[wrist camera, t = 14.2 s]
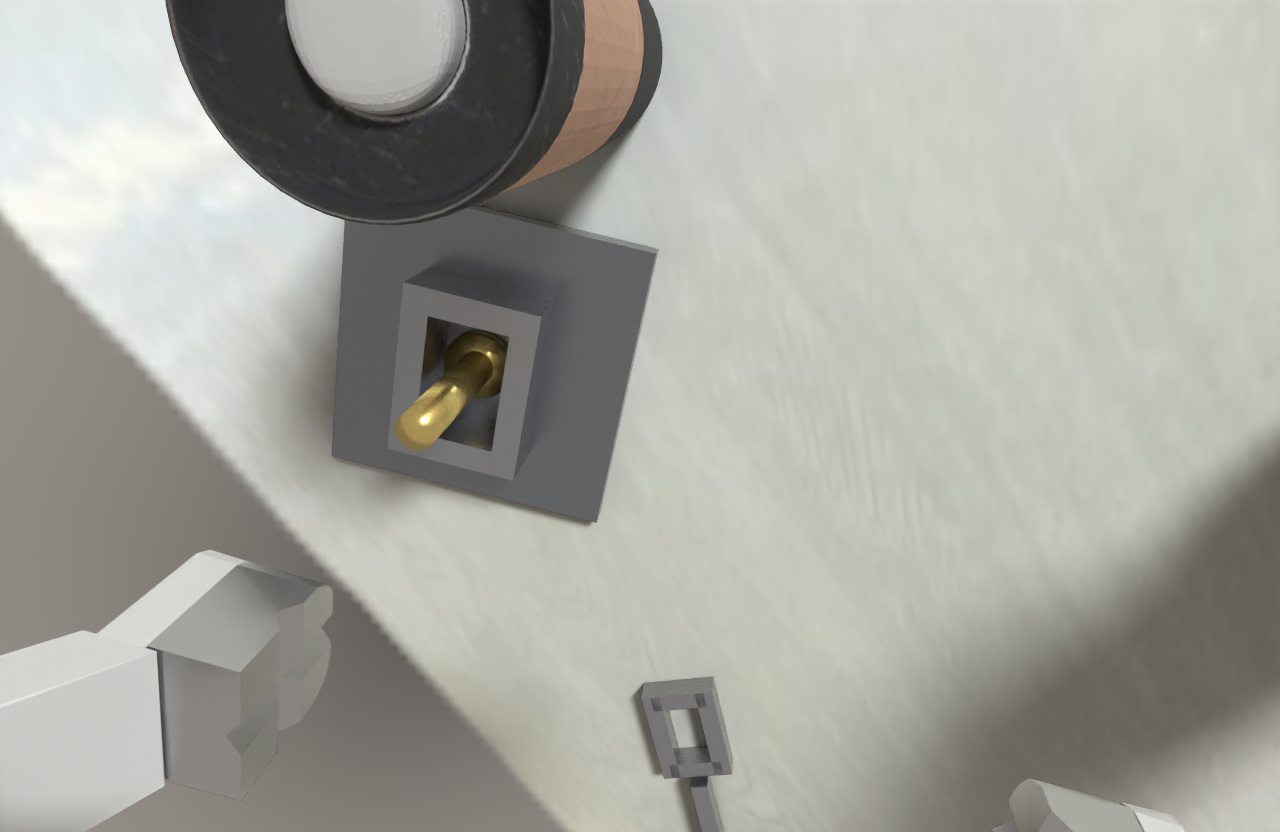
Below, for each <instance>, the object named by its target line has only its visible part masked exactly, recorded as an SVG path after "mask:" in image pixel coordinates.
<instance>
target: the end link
mask: <svg viewBox="0 0 1280 832" xmlns="http://www.w3.org/2000/svg"><path fill="white" fill-rule="evenodd" d="M556 304H557V299H556V298H552V297H548V296H544V295H540V294H536V293H532V292H528V291H524V290H520V289H516V288H512V287H508V286H504V285H500V284H496V283H492V282H488V281H484V280H480V279H476V278H472V277H468V276H464V275H460V274H456V273H452V272H448V271H444V270H440V269H436V268H432V267H429V268H427V269H425V270H424V271H422V272H420V273H418V274H417V275H415V276H413V277H411V278H410V279H408V280H406V281H404V282H403V290H402V301H401V311H400V322H399V332H398V343H397V354H396V364H395V375H394V385H393V396H392V407H391V417H390V428H389V438H388V449H391V450H395V451H399V452H403V453H406V454H410V455H414V456H418V457H422V458H426V459H430V460H434V461H437V462H441V463H445V464H449V465H453V466H457V467H461V468H465V469H469V470H472V471H476V472H480V473H484V474H488V475H492V476H496V477H500V478H503V479H507V480H511V481H513V480H514V479H515V477H516V475H517V474H518V472H519V470H520V469H521V467H522V465H523V464H524V462H525V460H526V458H527V457H528V455H529V453H530V449H531V444H532V438H533V432H534V427H535V421H536V416H537V410H538V405H539V399H540V393H541V388H542V382H543V377H544V371H545V366H546V360H547V354H548V349H549V343H550V338H551V332H552V327H553V321H554V315H555V310H556ZM449 322H453V323H457V324H461V325H465V326H469V327H473V328H477V329H481V330H485V331H489V332H493V333H497V334H501V335H505V336H509V343H508V350H507V356H506V362H505V369H504V375H503V381H502V388H501V394H500V401H499V407H498V413H497V420H496V422H495V421H491V420H487V419H483V418H479V417H475V416H471V415H468V414H464V413H459V414H458V415H457V417H456V418H455V419H454V420H453V421H452V422H451V423H450V425H449V426H448V427H447V428H446V429H445V430H444V431H443V433H442V434H441V435H440V436H439V437H438V438H437V439H436V441H435V442H434V443H433V444H432V445H431V446H430V447H429V448H427V449H425V450H420V451H417V450H412V449H409V448H407V447H405V446H404V445H403V444H402V443H401V442H400V441H399V440H398V438H397V436H396V433H395V423H396V421H397V419H398V418H399V417H400V416H401V415H402V414H403V413H404V412H405V411H406V410H407V409H408V408H409V407H410V406H411V405H412V404H413V403H414V402H415V401H416V400H417V399H419V398H420V397H421V396H422V395H423V394H424V393H425V392H426V391H427V390H428V389H429V388H430V387H431V386H432V385H433V384H434V383H435V382H436V381H437V380H438V379H439V378H441V377H442V376H443V370H444V364H443V361H444V355H445V352H446V345H447V337H448V328H449Z"/></svg>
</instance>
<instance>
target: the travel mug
mask: <svg viewBox="0 0 1280 832" xmlns="http://www.w3.org/2000/svg"><path fill="white" fill-rule="evenodd" d="M166 8H167V13H168V17H169V22H170V27H171V31H172V36H173V39H174V42H175V45H176V48H177V51H178V54H179V57H180V60H181V63H182V66H183V68H184V70H185V73H186V75H187V77H188V79H189V82H190V84H191V86H192V89H193V90H194V92H195V94H196V96H197V98H198V99H199V101H200V103H201V105H202V106H203V108H204V110H205V112H206V114H207V115H208V116H209V118H210V119H211V121H212V122H213V124H214V125H215V126H216V128H217V129H218V131H219V132H220V133H221V135H222V136H223V138H224V139H225V140H226V141H227V142H228V143H229V144H230V146H231V147H232V148H233V149H234V150H235V151H236V153H237V154H238V155H239V156H240V157H241V158H242V159H243V160H244V161H245V162H246V163H247V164H248V165H249V166H250V167H252V168H253V169H254V170H255V171H256V172H257V173H258V174H259V175H260V176H261V177H263V178H264V179H265V180H267V181H268V182H270V183H271V184H272V185H274V186H275V187H276V188H278V189H279V190H280V191H282V192H283V193H285V194H287V195H289V196H290V197H292V198H294V199H295V200H297V201H299V202H301V203H302V204H304V205H306V206H308V207H311V208H313V209H315V210H318V211H320V212H322V213H325V214H327V215H330V216H334V217H337V218H340V219H344V220H347V221H351V222H358V223H364V224H371V225H406V224H414V223H422V222H427V221H430V220H434V219H438V218H441V217H445V216H449V215H451V214H453V213H456V212H458V211H461V210H463V209H466V208H468V207H470V206H473V205H475V204H478V203H480V202H483V201H485V200H488V199H490V198H492V197H495V196H497V195H500V194H502V193H505V192H507V191H510V190H512V189H514V188H517V187H519V186H522V185H524V184H527V183H529V182H532V181H534V180H536V179H539V178H541V177H544V176H546V175H549V174H551V173H554V172H556V171H558V170H561V169H563V168H566V167H568V166H570V165H573V164H575V163H577V162H579V161H581V160H583V159H584V158H586V157H587V156H589V155H591V154H592V153H594V152H595V151H597V150H598V149H600V148H601V147H603V146H604V145H606V144H607V143H609V142H610V141H612V140H613V139H615V138H617V137H618V136H620V135H621V134H622V133H623V132H625V131H626V130H627V129H628V128H630V127H631V126H632V125H633V124H634V123H635V122H636V121H637V120H638V119H639V118H640V116H641V115H642V114H643V112H644V111H645V109H646V108H647V107H648V105H649V103H650V101H651V99H652V97H653V95H654V93H655V90H656V87H657V85H658V81H659V77H660V73H661V66H662V41H661V34H660V29H659V25H658V21H657V18H656V16H655V13H654V10H653V8H652V6H651V4H650V2H649V0H166Z"/></svg>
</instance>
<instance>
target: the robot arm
mask: <svg viewBox="0 0 1280 832" xmlns="http://www.w3.org/2000/svg"><path fill="white" fill-rule="evenodd" d="M332 613H333V590H332V589H331V588H330V587H329V586H328V585H327V584H324V583H320V582H317V581H314V580H311V579H307V578H304V577H300V576H297V575H294V574H291V573H288V572H284V571H281V570H278V569H274V568H271V567H268V566H264V565H261V564H258V563H254V562H251V561H248V562H247V561H244V560H241V559H238V558H235V557H231V556H228V555H225V554H222V553H218V552H215V551H212V550H208V551H204V552H200V553H197V554H195V555H194V556H192V557H191V558H190V559H189V560H187V561H186V562H185V563H184V564H183V565H181V566H180V567H179V568H178V569H176V570H175V571H174V572H173V573H172V574H170V575H169V576H168V577H166V578H165V579H164V580H163V581H161V582H160V583H159V584H158V585H157V586H155V587H154V588H153V589H151V590H150V591H149V592H148V593H146V594H145V595H144V596H143V597H141V599H139V600H138V601H137V602H135V603H134V604H133V605H131V606H130V607H129V608H128V609H127V610H125V611H124V612H123V613H122V614H120V615H119V616H118V617H117V618H115V619H114V620H113V621H112V622H110V623H109V624H108V625H107V626H105V627H104V628H103V629H102V630H100V631H99V632H98V633H97V634H95V633H91V632H87V631H84V630H83V631H79V632H76V633H73V634H70V635H66V636H63V637H60V638H57V639H53V640H50V641H47V642H43V643H40V644H37V645H34V646H30V647H27V648H24V649H21V650H17V651H14V652H11V653H8V654H4V655H1V656H0V832H85V831H87V830H88V829H90V828H92V827H94V826H96V825H97V824H99V823H101V822H102V821H104V820H106V819H108V818H109V817H111V816H113V815H115V814H117V813H118V812H120V811H122V810H123V809H125V808H127V807H129V806H130V805H132V804H134V803H136V802H137V801H139V800H141V799H143V798H145V797H146V796H148V795H150V794H152V793H153V792H155V791H157V790H159V789H160V788H162V787H164V785H165V781H167V782H171V783H175V784H178V785H182V786H186V787H190V788H194V789H198V790H201V791H205V792H209V793H213V794H217V795H221V796H224V797H228V798H232V799H236V800H239V801H241V800H242V799H243V798H244V796H245V795H246V794H247V792H248V791H249V790H250V788H251V787H252V786H253V784H254V783H255V782H256V780H257V779H258V778H259V776H260V775H261V774H262V772H263V771H264V770H265V768H266V767H267V766H268V764H269V763H270V762H271V760H272V759H273V758H274V756H275V755H276V754H277V751H278V750H277V749H278V732H280V731H282V730H284V729H286V728H288V727H291V726H293V725H295V724H297V723H299V722H300V721H301V720H302V719H303V717H304V716H305V714H306V713H307V712H308V710H309V709H310V707H311V706H312V705H313V703H314V701H315V699H316V697H317V695H318V693H319V691H320V688H321V686H322V684H323V682H324V680H325V677H326V673H327V669H328V665H329V661H330V651H331V642H330V640H329V639H328V637H327V636H326V634H325V633H324V631H323V629H322V628H321V627H322V626H323V624H324V623H325V622H326V621H327V619H328V618H329V617H330V616H331V615H332ZM1008 802H1009V805H1010V808H1011V811H1012V814H1013V817H1014V819H1012V820H1010V821H1008V822H1006V823H1003V824H1001V825H999V826H997V827H995V828H993V829H992V831H991V832H1185V831H1184V829H1183V827H1182V826H1181V825H1180V824H1179V823H1178V822H1177V821H1176V820H1175V819H1174V818H1172V817H1171V816H1170V815H1169V814H1166V813H1162V812H1158V811H1154V810H1150V809H1146V808H1142V807H1138V806H1134V805H1131V804H1127V803H1123V802H1121V803H1118V802H1115V801H1112V800H1109V799H1105V798H1101V797H1098V796H1094V795H1090V794H1086V793H1083V792H1079V791H1075V790H1071V789H1068V788H1064V787H1060V786H1056V785H1053V784H1049V783H1045V782H1042V781H1038V780H1034V779H1030V778H1028V779H1026V780H1025V781H1023V782H1022V783H1020V784H1019V785H1018V786H1017V787H1016V789H1015V791H1014V792H1013V794H1012V796H1011V797H1010V799H1009V801H1008Z"/></svg>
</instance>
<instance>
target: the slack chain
mask: <svg viewBox="0 0 1280 832" xmlns="http://www.w3.org/2000/svg"><path fill="white" fill-rule="evenodd" d="M641 699H642V703H643V706H644V710H645V713H646V717H647V720H648V724H649V727H650V731H651V734H652V738H653V741H654V745H655V748H656V752H657V755H658V759H659V763H660V766H661V770H662V773H663V777H664V779H669V778H683V777H691V785H690V789H691V793H692V796H693V800H694V804H695V807H696V811H697V815H698V819H699V822H700V826H701V830H702V832H724V830H723V826H722V822H721V818H720V814H719V810H718V806H717V802H716V798H715V794H714V790H713V787H712V783H711V779H710V776H713V775H728V774H732V754H731V749H730V745H729V741H728V737H727V733H726V728H725V724H724V720H723V716H722V712H721V708H720V703H719V699H718V695H717V691H716V687H715V682H714V678H713V677H707V678H696V679H685V680H674V681H663V682H653V683H644V686H643V692H642V697H641ZM691 708H698V710H699V714H700V718H701V722H702V726H703V730H704V734H705V738H706V742H707V747H694V748H680V749H679V747H678V743H677V739H676V735H675V732H674V728H673V724H672V721H671V717H670V713H669V710H679V709H691Z"/></svg>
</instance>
